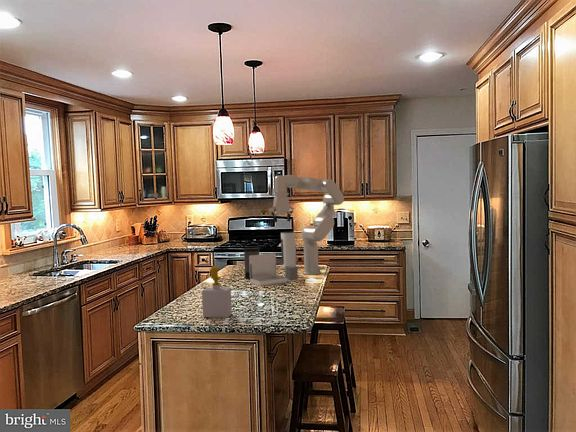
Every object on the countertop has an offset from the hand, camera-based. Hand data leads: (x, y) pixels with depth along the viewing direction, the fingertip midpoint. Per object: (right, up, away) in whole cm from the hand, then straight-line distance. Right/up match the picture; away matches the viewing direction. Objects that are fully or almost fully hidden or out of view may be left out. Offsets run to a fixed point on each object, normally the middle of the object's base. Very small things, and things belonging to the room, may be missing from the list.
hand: (282, 221), depth 315 cm
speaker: (+5, -34, +42) cm, 54 cm away
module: (+6, -36, -7) cm, 37 cm away
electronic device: (-19, -37, +1) cm, 42 cm away
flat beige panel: (+6, -37, -7) cm, 38 cm away
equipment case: (-8, -38, -14) cm, 41 cm away
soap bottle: (-29, -43, -88) cm, 102 cm away
